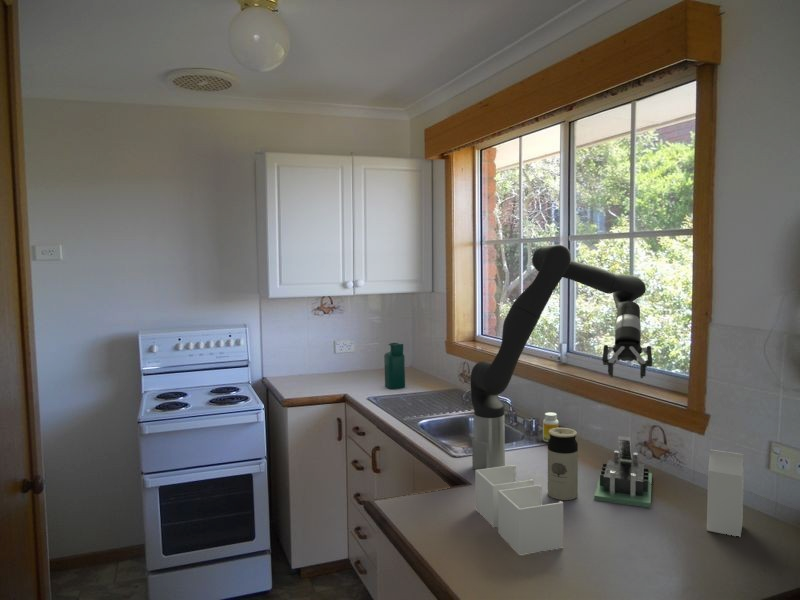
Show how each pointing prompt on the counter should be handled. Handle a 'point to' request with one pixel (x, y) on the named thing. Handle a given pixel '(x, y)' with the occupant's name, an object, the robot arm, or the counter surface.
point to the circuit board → (624, 496)
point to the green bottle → (395, 367)
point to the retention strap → (625, 448)
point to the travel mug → (562, 464)
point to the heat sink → (624, 476)
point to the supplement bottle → (549, 424)
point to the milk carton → (725, 492)
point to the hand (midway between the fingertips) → (626, 376)
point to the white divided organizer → (518, 510)
